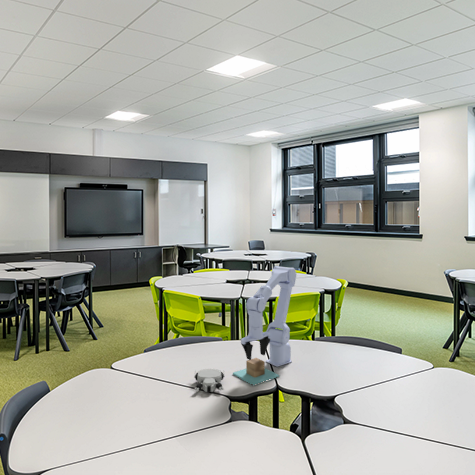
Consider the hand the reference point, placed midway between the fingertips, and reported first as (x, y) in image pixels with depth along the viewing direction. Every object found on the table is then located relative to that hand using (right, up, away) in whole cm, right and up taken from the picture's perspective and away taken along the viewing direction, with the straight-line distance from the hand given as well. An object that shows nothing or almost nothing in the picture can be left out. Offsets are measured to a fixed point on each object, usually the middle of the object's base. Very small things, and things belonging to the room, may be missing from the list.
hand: (255, 356), depth 176 cm
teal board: (0, -8, +1) cm, 8 cm away
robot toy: (-19, -10, -9) cm, 23 cm away
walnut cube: (0, -7, +1) cm, 8 cm away
